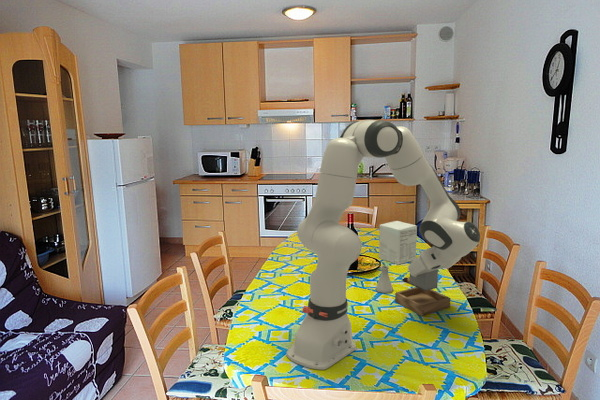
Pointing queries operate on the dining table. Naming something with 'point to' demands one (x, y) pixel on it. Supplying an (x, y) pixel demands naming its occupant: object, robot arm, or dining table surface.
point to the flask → (384, 281)
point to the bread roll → (406, 280)
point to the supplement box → (397, 242)
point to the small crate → (425, 280)
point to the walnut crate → (422, 300)
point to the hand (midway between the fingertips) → (422, 272)
